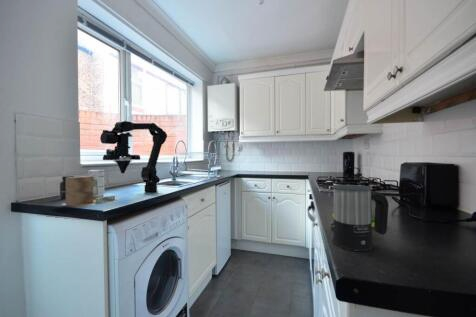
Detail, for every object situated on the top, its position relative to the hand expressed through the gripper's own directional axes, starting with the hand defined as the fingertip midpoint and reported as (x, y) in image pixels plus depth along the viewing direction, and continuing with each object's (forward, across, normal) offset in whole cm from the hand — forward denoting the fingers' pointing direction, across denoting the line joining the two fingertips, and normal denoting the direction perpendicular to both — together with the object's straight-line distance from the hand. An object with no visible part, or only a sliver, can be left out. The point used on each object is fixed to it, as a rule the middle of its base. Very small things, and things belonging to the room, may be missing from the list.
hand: (122, 173), depth 120 cm
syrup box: (+13, +2, -20) cm, 24 cm away
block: (+12, +23, +2) cm, 26 cm away
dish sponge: (+14, -4, +112) cm, 113 cm away
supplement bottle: (+13, +16, -21) cm, 29 cm away
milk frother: (+13, +16, +109) cm, 111 cm away
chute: (+13, +17, +2) cm, 22 cm away
